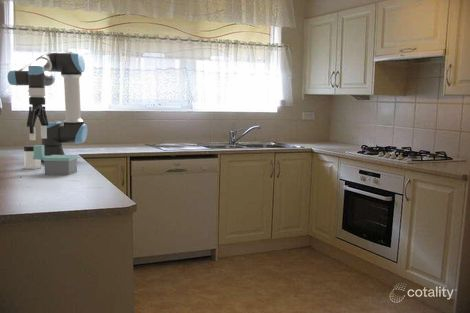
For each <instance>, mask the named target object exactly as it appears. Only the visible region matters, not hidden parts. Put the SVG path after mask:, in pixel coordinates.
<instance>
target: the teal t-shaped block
mask: <svg viewBox="0 0 470 313" xmlns="http://www.w3.org/2000/svg"><path fill="white" fill-rule="evenodd" d="M33 145H34V144H33ZM76 158H77V159H78V158H79V154H65V155H51V156H45V154H44V145H42V144H35V145H34V156H33V159H38V160H43V161H42V162H44V161H71V160H74V159H76Z"/></svg>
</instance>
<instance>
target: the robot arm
mask: <svg viewBox="0 0 470 313" xmlns="http://www.w3.org/2000/svg"><path fill="white" fill-rule="evenodd" d="M85 68H86V64H85V60H84V57H83V55H82V53H80V52H78V51H51V52H48V53H46V54H43V55H41V56H39V57H37V58H36V59H35V60H34V62H31V63H29V64H28V65H25V66H23V67H22V68H20V69H19V70H9V71H8V72H7V75H6V76H7V82H8V83H9V85H11V86H28V90H27V92H28V96H29V98H28V104H29V105H30V106H28V115H27V116H28V117H27V121H26V127H27V128H28V129H29V130H28V131H29V132H28V133H29V135H28V136H29V138H28V139H29V141H36V137H37V136H36V127H35V126H36V125H35V124H36V122H37V118H38V120H39V123H40V124H41V125H40V139H41V145H44V154H45V156H51V155H66V153H65V152H64V149H63V144H83V143H84V142H86V139H87V137H88V125H87V124H85V123H84V122H85V121H84V119H82V117H81V116H82V115H81V114H82V113H81V94H80V93H81V89H80V78H81V77H82V74H83V72H85ZM52 72H58V73H60V75H61V77H63V84H64V86H63V88H64V103H65V104H64V105H65V108H64V109H65V119H64V120H63V123H62V121H55V122H49V121H48V116H47V112H46V106H45V105H46V97H45V96H46V87H48V86H49V87H50V86H52V85H54V83H55V81H56V79H55V75H54V73H52ZM31 105H32V106H31ZM41 162H44V161H43V160H41Z"/></svg>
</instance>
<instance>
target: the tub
mask: <svg viewBox="0 0 470 313" xmlns="http://www.w3.org/2000/svg"><path fill="white" fill-rule="evenodd" d="M43 162H44V175H47V176H49V175H51V176H61V175H62V176H70V175H72V174H75V173H77V171H78V158H76V159H74V160H71V161H43Z"/></svg>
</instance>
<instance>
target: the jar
mask: <svg viewBox="0 0 470 313" xmlns="http://www.w3.org/2000/svg"><path fill="white" fill-rule="evenodd" d="M22 152H23V169H26V170H36V169H41V168H42V161H41V160H38V159H33V156H34V144H33V145H30V144H28V145H23V151H22Z"/></svg>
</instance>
